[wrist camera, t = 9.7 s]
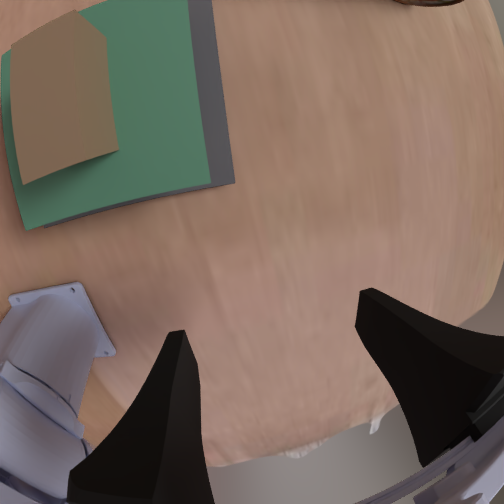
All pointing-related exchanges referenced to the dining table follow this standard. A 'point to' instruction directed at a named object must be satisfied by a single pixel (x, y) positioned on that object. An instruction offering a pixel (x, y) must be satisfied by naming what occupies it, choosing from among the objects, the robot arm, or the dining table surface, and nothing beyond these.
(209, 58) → the chassis
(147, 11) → the board
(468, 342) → the robot arm
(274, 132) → the dining table surface
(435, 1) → the tin
